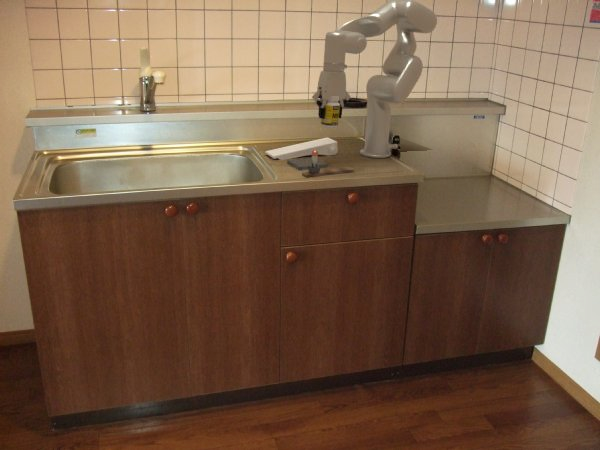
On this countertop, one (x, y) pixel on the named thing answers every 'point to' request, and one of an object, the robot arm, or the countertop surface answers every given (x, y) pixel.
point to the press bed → (305, 163)
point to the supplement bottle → (331, 113)
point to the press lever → (314, 163)
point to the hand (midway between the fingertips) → (329, 117)
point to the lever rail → (328, 172)
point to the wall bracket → (305, 149)
